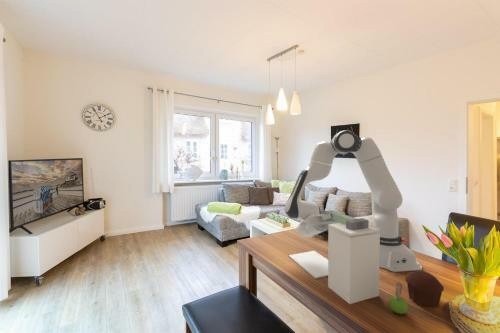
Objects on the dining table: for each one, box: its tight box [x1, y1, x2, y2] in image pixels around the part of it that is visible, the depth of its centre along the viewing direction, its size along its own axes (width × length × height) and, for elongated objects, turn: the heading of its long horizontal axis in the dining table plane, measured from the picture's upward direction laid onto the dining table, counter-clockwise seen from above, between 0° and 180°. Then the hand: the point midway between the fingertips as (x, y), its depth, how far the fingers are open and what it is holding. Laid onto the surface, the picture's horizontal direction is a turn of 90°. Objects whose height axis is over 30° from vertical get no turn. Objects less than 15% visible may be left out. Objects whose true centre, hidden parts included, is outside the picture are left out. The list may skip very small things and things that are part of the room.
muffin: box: [405, 270, 444, 309], centre depth 86 cm, size 12×11×10 cm
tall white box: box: [327, 223, 380, 305], centre depth 92 cm, size 12×14×26 cm
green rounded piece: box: [388, 281, 409, 315], centre depth 80 cm, size 5×6×12 cm
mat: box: [288, 250, 328, 280], centre depth 116 cm, size 24×16×1 cm, turn 20°
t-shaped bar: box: [325, 209, 370, 230], centre depth 97 cm, size 18×8×3 cm, turn 20°
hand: (335, 215), depth 101 cm, fingers closed on t-shaped bar, 3 cm apart
